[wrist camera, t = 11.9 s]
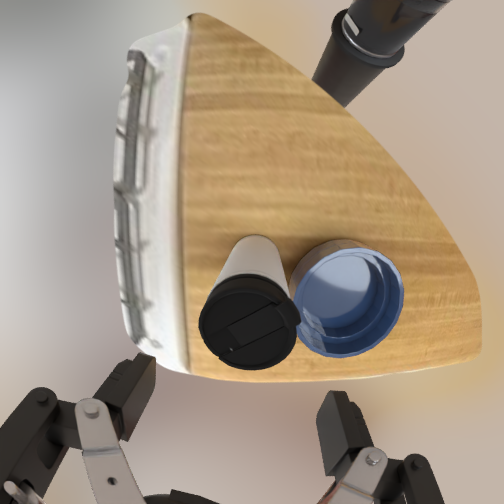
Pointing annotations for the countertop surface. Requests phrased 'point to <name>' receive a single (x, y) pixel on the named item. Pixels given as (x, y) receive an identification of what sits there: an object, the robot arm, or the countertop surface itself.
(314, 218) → the countertop surface
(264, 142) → the countertop surface
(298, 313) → the travel mug
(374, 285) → the bowl
